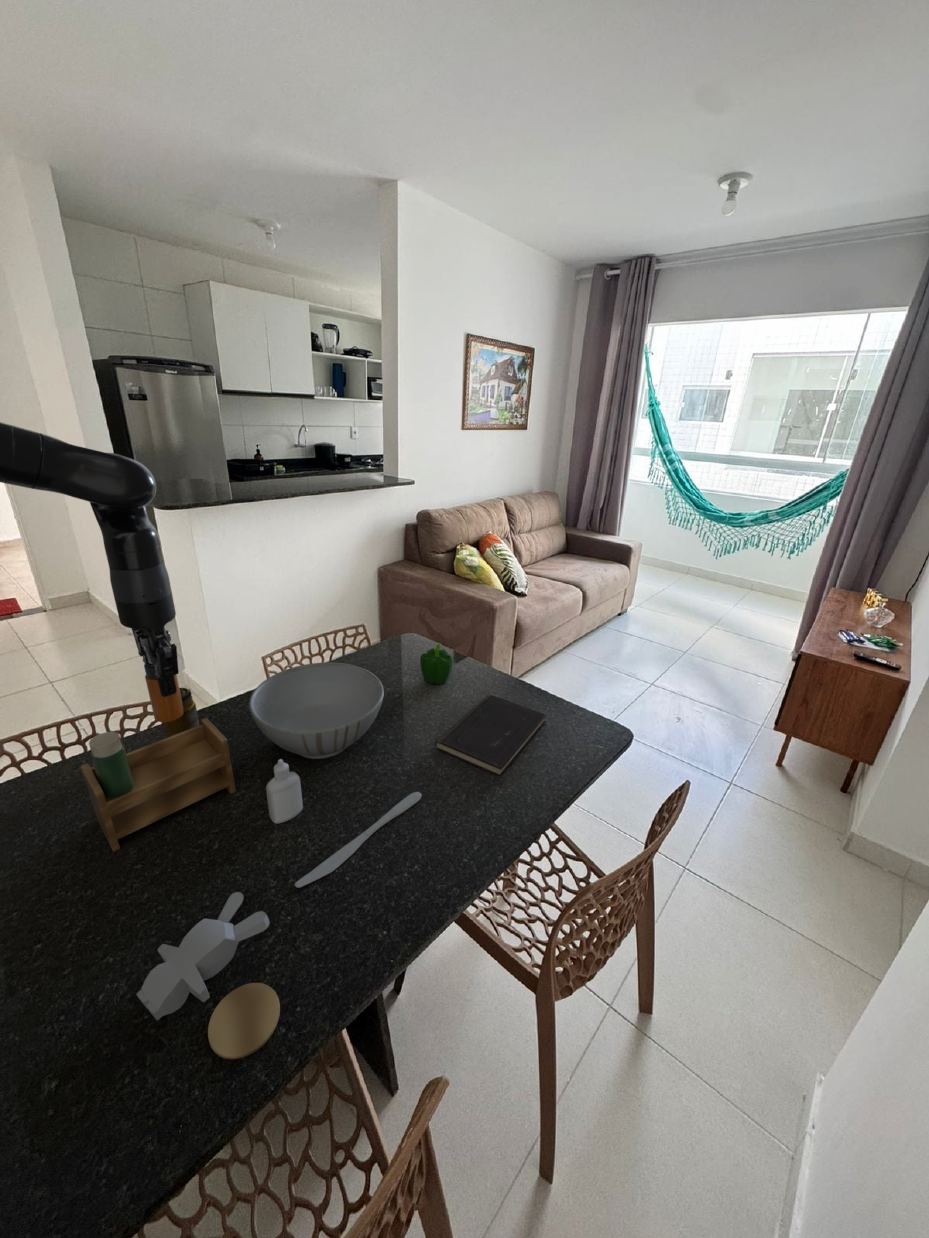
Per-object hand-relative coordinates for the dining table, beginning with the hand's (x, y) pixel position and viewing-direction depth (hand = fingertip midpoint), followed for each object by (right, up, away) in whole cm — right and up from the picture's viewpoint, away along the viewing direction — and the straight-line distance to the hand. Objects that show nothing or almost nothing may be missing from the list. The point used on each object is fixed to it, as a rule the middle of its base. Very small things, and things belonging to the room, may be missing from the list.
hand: (163, 687), depth 85 cm
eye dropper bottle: (+18, -24, +7) cm, 31 cm away
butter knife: (+33, -26, +3) cm, 42 cm away
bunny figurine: (+16, -34, -17) cm, 42 cm away
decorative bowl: (+19, -15, +27) cm, 36 cm away
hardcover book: (+56, -15, +31) cm, 66 cm away
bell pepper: (+42, -5, +52) cm, 67 cm away
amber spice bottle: (0, -5, +2) cm, 5 cm away
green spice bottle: (-7, -17, 0) cm, 18 cm away
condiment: (-9, -15, +24) cm, 29 cm away
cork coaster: (+23, -37, -23) cm, 49 cm away
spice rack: (-3, -22, +7) cm, 24 cm away
